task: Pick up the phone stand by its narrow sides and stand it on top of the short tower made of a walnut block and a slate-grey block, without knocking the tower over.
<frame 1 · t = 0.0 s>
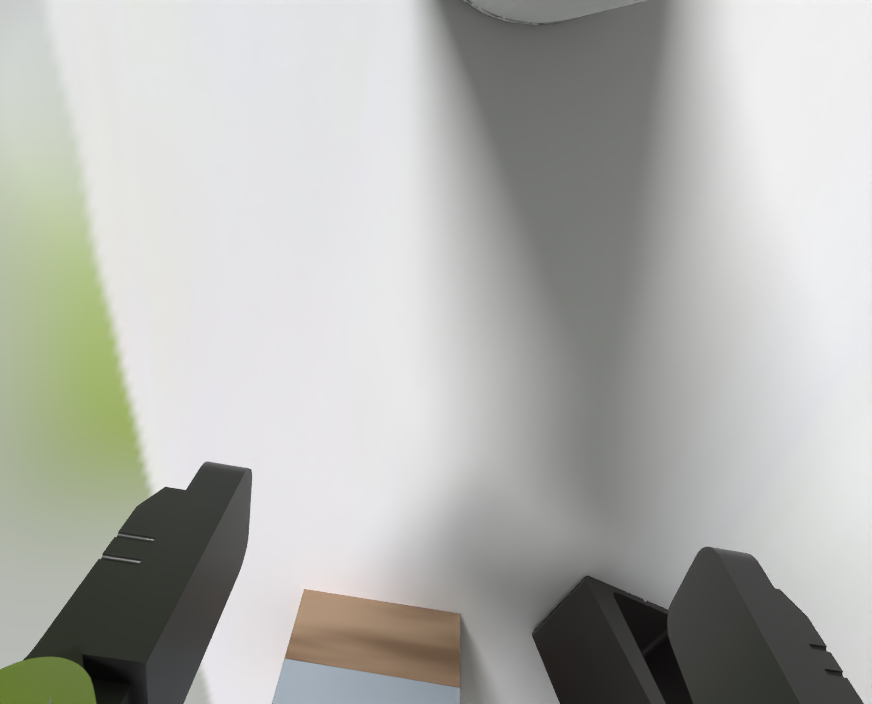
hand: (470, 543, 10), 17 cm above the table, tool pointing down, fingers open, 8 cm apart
tower bottom: (372, 647, 39), on the table, touching tower top
phone stand: (615, 624, 37), on the table
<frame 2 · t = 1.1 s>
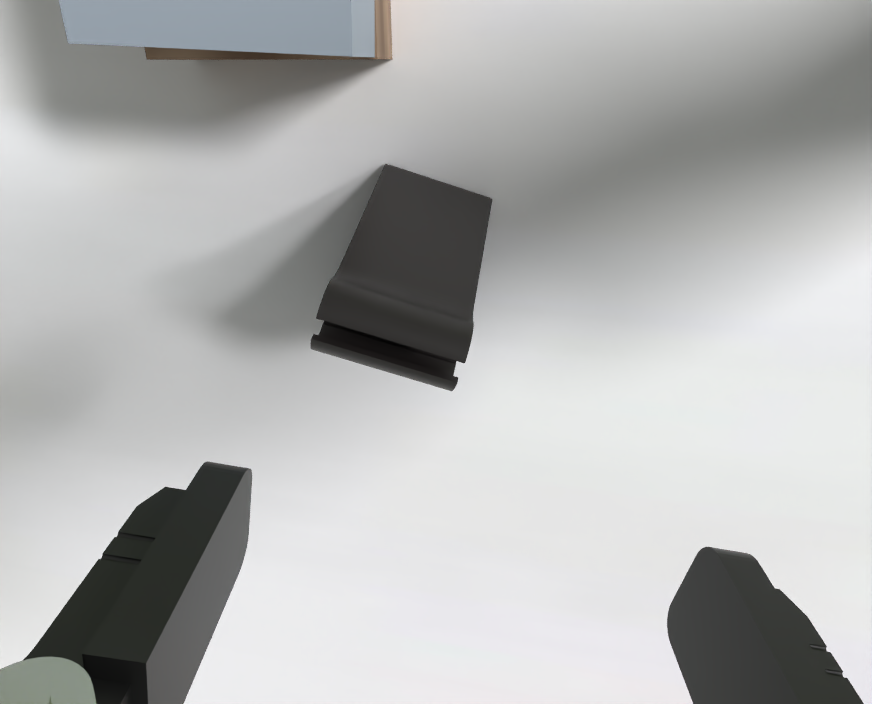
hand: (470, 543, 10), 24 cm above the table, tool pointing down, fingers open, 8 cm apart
phone stand: (416, 255, 33), on the table
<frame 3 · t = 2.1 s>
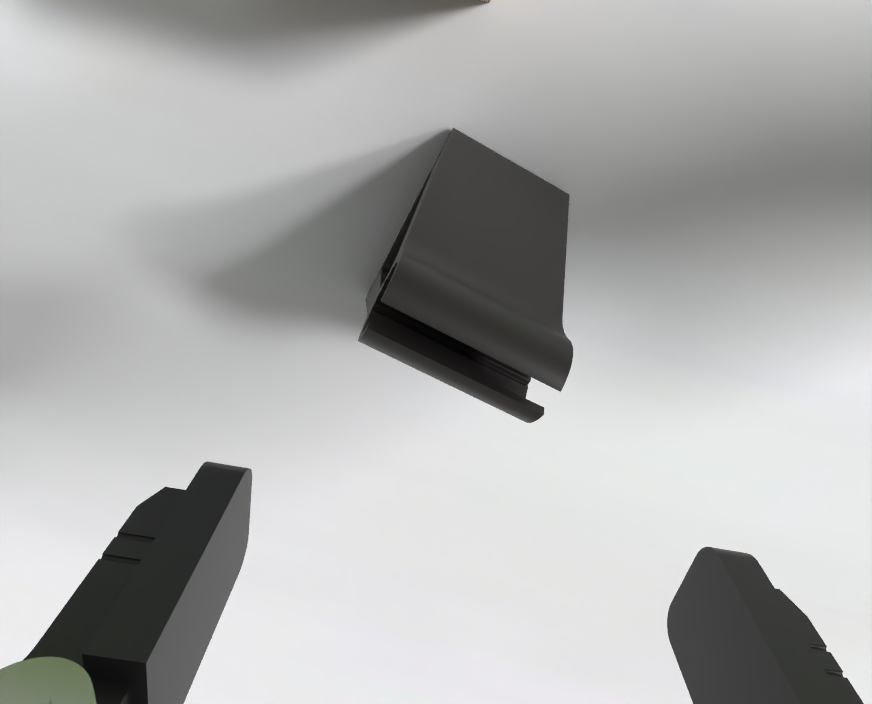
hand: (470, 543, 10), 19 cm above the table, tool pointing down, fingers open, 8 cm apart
phone stand: (462, 245, 28), on the table
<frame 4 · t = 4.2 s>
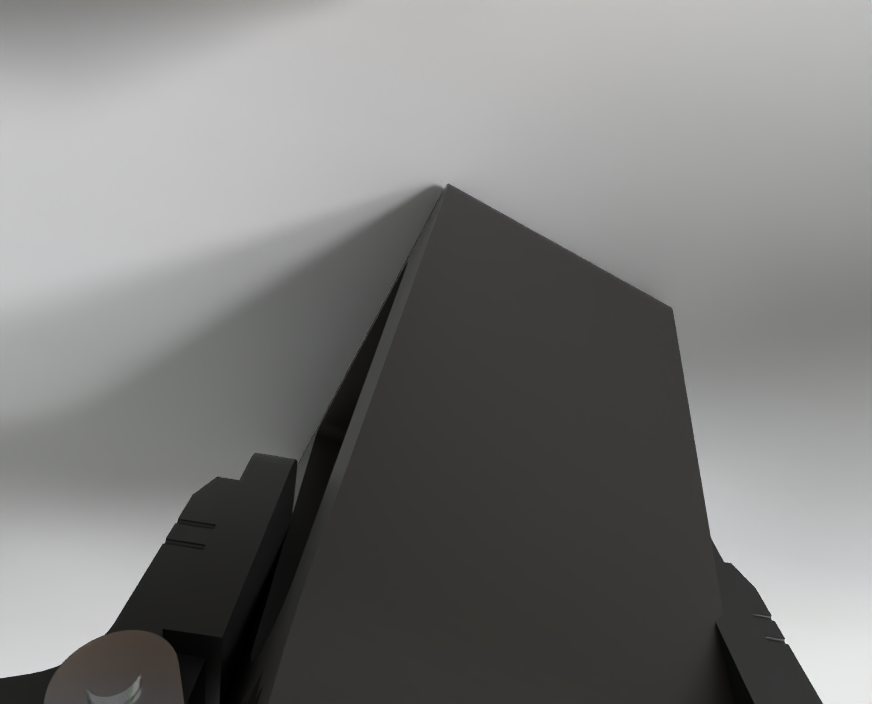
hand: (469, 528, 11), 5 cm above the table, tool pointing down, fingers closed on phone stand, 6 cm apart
phone stand: (465, 388, 15), on the table, touching gripper
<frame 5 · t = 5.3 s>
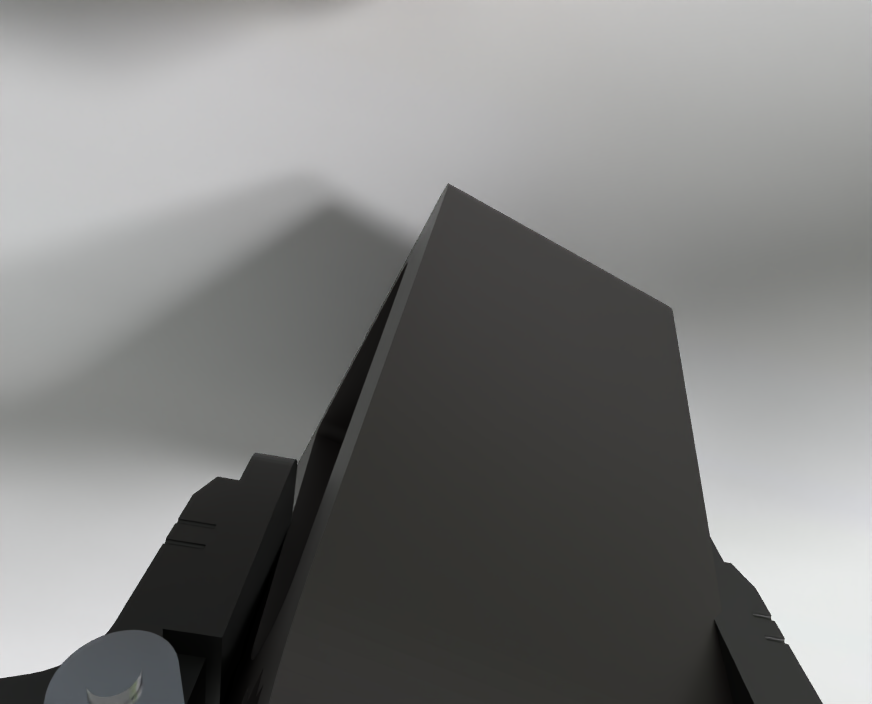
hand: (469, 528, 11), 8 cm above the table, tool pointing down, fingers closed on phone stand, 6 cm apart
phone stand: (465, 387, 15), point 3 cm above the table, touching gripper
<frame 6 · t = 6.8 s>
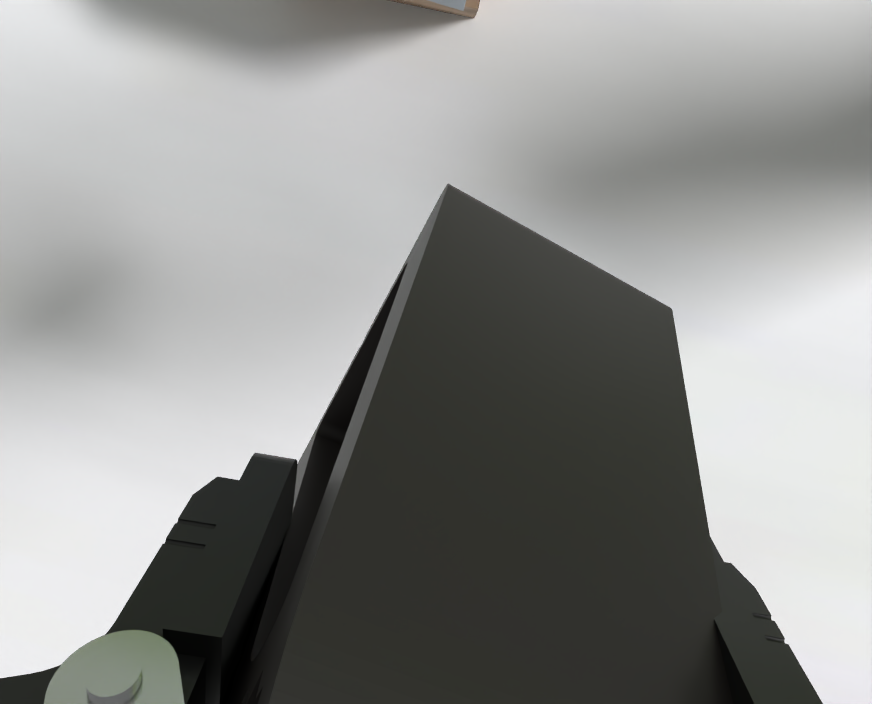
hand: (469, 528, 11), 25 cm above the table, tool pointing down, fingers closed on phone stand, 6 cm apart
phone stand: (465, 388, 15), point 20 cm above the table, touching gripper
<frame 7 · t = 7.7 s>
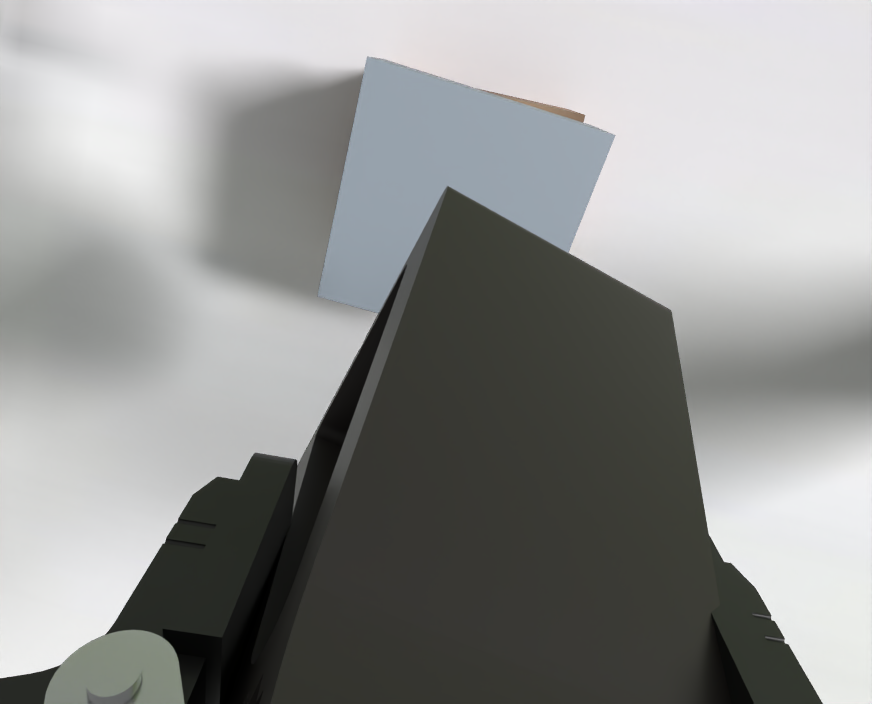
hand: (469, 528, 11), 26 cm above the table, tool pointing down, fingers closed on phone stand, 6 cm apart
tower top: (456, 197, 29), point 5 cm above the table, touching tower bottom
tower bottom: (457, 181, 33), on the table, touching tower top
phone stand: (465, 389, 15), point 21 cm above the table, touching gripper
when the fingers open (16 cm above the table, at t = 11.5 s): phone stand drops 1 cm, resting on tower top.
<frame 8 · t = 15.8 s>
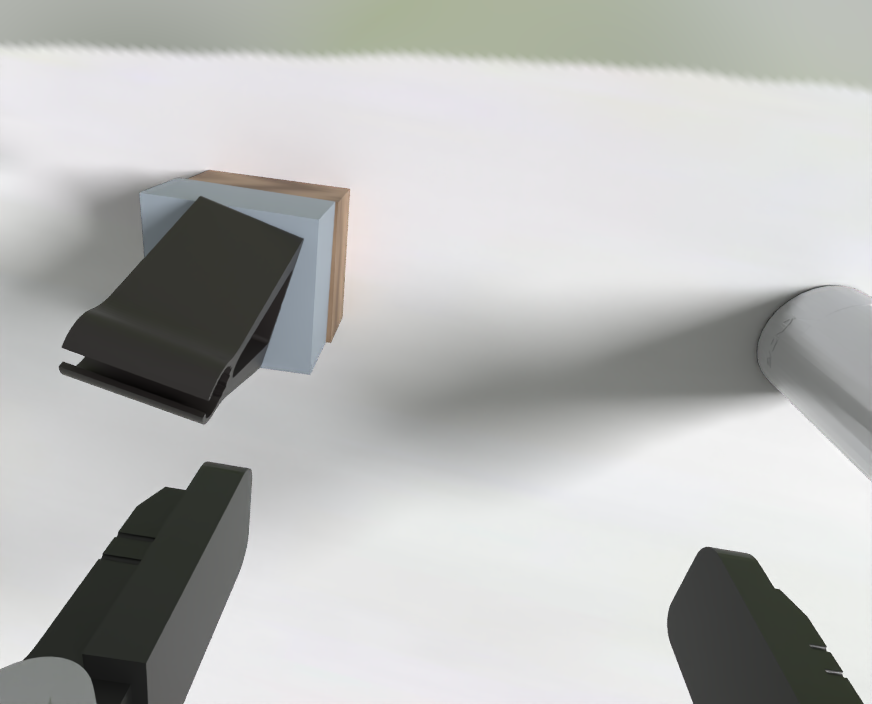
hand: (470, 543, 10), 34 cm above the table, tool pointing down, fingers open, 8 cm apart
tower top: (256, 264, 39), point 5 cm above the table, touching phone stand, tower bottom
tower bottom: (280, 246, 43), on the table, touching tower top
phone stand: (235, 284, 34), point 9 cm above the table, touching tower top
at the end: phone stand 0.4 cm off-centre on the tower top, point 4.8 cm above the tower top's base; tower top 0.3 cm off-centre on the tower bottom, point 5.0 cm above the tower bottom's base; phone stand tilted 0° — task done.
